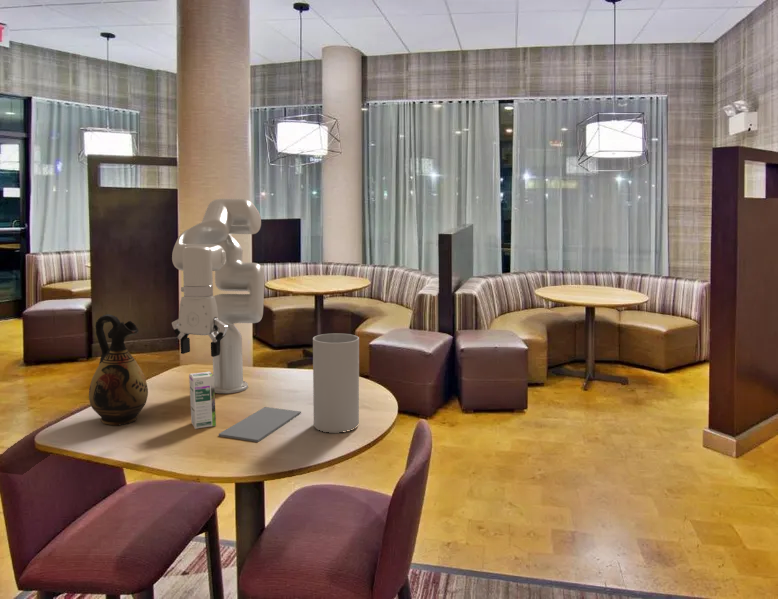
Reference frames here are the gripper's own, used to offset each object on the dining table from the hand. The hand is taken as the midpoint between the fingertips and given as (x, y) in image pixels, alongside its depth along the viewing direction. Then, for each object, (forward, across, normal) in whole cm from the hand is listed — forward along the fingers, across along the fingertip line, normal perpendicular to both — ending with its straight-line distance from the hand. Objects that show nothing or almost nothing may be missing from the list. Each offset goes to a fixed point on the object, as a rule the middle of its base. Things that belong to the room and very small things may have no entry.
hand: (200, 354), depth 172 cm
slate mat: (+20, +15, +7) cm, 26 cm away
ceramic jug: (+20, -25, -4) cm, 33 cm away
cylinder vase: (+20, +35, +13) cm, 42 cm away
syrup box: (+20, 0, +1) cm, 20 cm away
